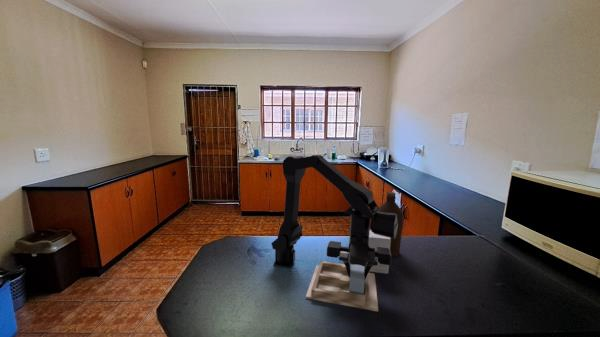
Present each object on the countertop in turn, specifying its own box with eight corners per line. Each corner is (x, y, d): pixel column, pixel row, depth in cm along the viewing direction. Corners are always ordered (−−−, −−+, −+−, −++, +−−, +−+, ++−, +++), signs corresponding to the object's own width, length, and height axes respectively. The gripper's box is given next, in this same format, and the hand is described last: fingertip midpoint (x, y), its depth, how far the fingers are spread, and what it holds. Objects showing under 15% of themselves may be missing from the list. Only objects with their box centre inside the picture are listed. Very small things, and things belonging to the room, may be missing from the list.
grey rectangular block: (348, 298, 69) (349, 277, 68) (350, 274, 81) (351, 255, 80) (363, 301, 68) (364, 279, 67) (362, 275, 80) (363, 257, 80)
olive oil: (390, 245, 106) (394, 189, 103) (406, 256, 95) (411, 195, 92) (368, 247, 103) (372, 190, 100) (382, 259, 93) (387, 196, 90)
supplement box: (388, 274, 83) (391, 239, 81) (366, 271, 84) (368, 237, 83) (385, 263, 90) (387, 231, 88) (365, 261, 91) (367, 229, 90)
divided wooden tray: (305, 298, 69) (306, 289, 69) (316, 266, 87) (316, 259, 86) (378, 311, 65) (378, 302, 64) (374, 275, 82) (374, 267, 82)
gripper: (325, 236, 67) (322, 288, 69) (396, 245, 62) (392, 300, 64) (329, 223, 78) (328, 268, 80) (391, 229, 73) (387, 277, 75)
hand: (356, 278), depth 74 cm, fingers closed on grey rectangular block, 4 cm apart
